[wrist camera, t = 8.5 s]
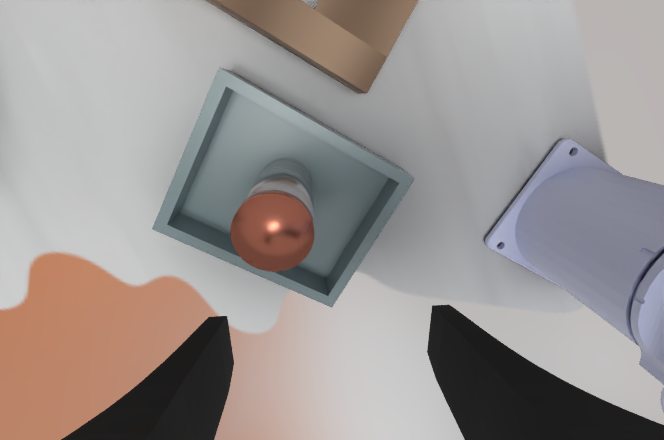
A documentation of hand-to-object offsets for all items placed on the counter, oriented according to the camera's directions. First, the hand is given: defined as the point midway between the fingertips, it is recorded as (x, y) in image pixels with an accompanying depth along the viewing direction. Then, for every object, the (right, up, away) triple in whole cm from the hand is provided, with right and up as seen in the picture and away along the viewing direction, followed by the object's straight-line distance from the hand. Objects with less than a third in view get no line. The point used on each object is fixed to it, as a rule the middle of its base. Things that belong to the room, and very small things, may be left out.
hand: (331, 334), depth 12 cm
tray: (-3, +6, +9) cm, 11 cm away
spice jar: (-3, +6, +8) cm, 11 cm away
